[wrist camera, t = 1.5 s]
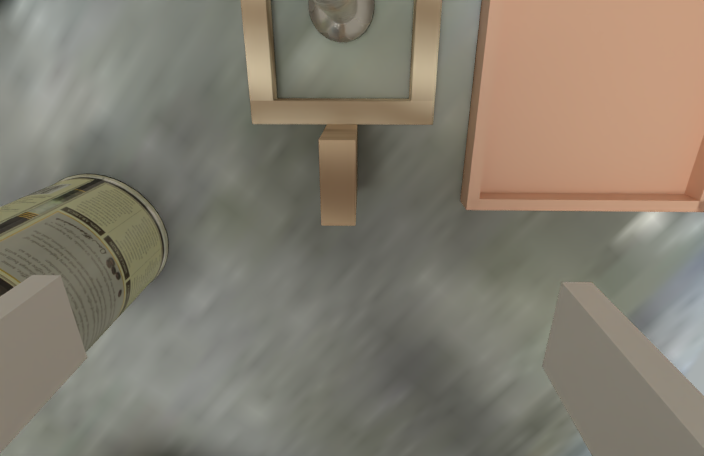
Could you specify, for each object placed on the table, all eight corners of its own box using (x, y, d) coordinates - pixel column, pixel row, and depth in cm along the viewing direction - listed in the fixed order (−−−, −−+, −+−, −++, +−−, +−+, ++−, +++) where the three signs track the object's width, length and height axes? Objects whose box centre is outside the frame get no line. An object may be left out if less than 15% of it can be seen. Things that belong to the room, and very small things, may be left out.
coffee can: (122, 312, 35) (-17, 461, 22) (15, 232, 33) (-215, 348, 20) (196, 239, 32) (85, 362, 20) (85, 144, 30) (-131, 213, 17)
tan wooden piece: (424, 190, 30) (441, 226, 24) (263, 189, 31) (237, 224, 24) (444, -91, 24) (474, -145, 17) (239, -89, 24) (193, -142, 18)
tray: (686, 202, 30) (707, 211, 28) (460, 200, 31) (466, 209, 29) (816, -182, 22) (857, -204, 20) (500, -177, 22) (513, -198, 20)
